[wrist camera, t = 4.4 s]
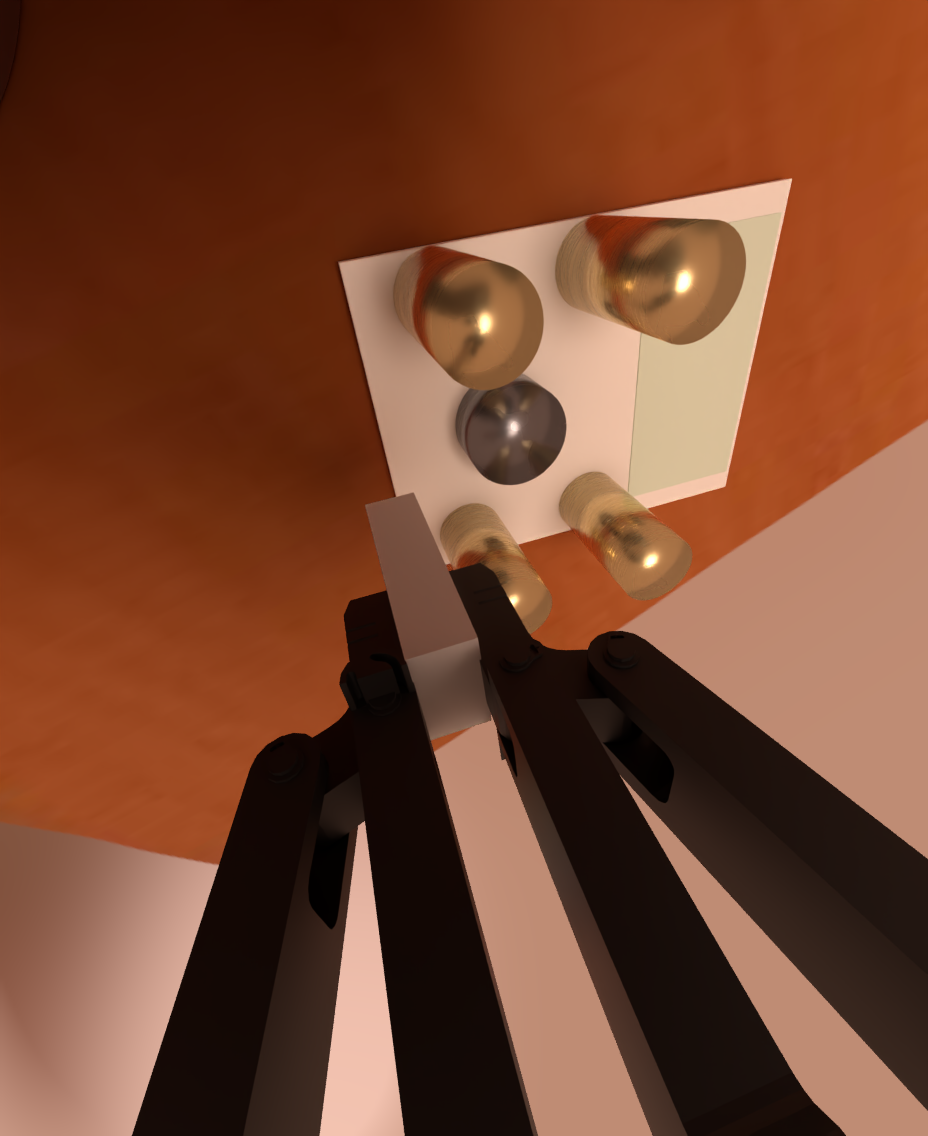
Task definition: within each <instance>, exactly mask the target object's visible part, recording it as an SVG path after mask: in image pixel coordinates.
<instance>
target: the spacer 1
mask: <svg viewBox="0 0 928 1136" xmlns="http://www.w3.org/2000/svg"><path fill="white" fill-rule="evenodd" d="M393 300H394V306H395V310H396V313H397V316H398V318H399V320H400V322H401V323H402V325H403V326H404V327H405V329H406V330H407V331H408V332H409V333H410V334H411V335H412V336H413V337H414V338H415V339H416V340H417V342H418V343H419V344H420V345H421V346H422V347H423V348H424V349H425V350H426V351H427V352H428V353H429V354H430V355H431V356H432V358H433V359H434V360H435V361H436V362H437V363H438V364H439V365H440V366H441V367H442V368H443V369H444V370H445V371H446V373H447V374H448V375H449V376H450V377H451V378H453V379H454V380H455V381H456V382H458V383H460V384H461V385H463V386H466V387H468V388H471V389H476V390H491V389H496V388H499V387H502V386H505V385H507V384H509V383H510V382H512V381H514V380H515V379H516V378H518V377H519V376H520V375H521V374H522V373H523V372H524V371H525V370H526V369H527V367H528V366H529V365H530V364H531V362H532V360H533V359H534V357H535V355H536V353H537V351H538V348H539V346H540V343H541V339H542V335H543V327H544V316H543V308H542V303H541V300H540V297H539V295H538V293H537V291H536V288H535V287H534V285H533V284H532V282H531V281H530V280H529V279H528V278H527V277H526V276H525V275H524V274H523V273H522V272H520V271H519V270H517V269H516V268H514V267H512V266H509V265H507V264H503V263H500V262H496V261H492V260H489V259H485V258H482V257H478V256H475V255H471V254H468V253H464V252H460V251H457V250H453V249H450V248H446V247H442V246H428V247H424V248H421V249H419V250H417V251H416V252H414V253H412V254H411V255H410V256H409V257H408V258H407V259H406V260H405V261H404V262H403V264H402V265H401V267H400V269H399V271H398V273H397V276H396V278H395V283H394V289H393Z"/></svg>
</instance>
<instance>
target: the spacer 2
mask: <svg viewBox="0 0 928 1136" xmlns="http://www.w3.org/2000/svg"><path fill="white" fill-rule="evenodd" d="M440 541H441V544H442V546H443V548H444V551H445V553H446V555H447V557H448V560H449V562H450V564H451V566H452V568H453V570H456V569H459V568H463V567H467V566H470V565H474V564H477V563H482V564H483V565H485V566H486V567H488V568H489V569H491V570H492V571H494V573H495V575H496V576H497V578H498V580H499V582H500V583H501V586H502V587H503V589H504V590H505V592H506V594H507V597H509V599H510V601H511V603H512V605H513V606H514V608H515V610H516V612H517V613H518V615H519V617H520V619H521V620H522V622H523V624H524V626H525V628H526V629H527V631H528V633H529V634H531V633H533V632H534V631H535V630H537V629H538V628H539V627H540V626H541V625H542V624H543V623H544V622H545V620H546V619H547V617H548V615H549V613H550V611H551V607H552V597H551V594H550V592H549V590H548V589H547V587H546V586H545V584H544V583H543V581H542V580H541V578H540V577H539V575H538V574H537V572H536V571H535V569H534V568H533V566H532V565H531V563H530V562H529V561H528V559H527V558H526V556H525V555H524V553H523V552H522V550H521V549H520V547H519V546H518V544H517V543H516V541H515V540H514V538H513V537H512V535H511V534H510V532H509V531H508V529H507V528H506V526H505V525H504V523H503V522H502V520H501V519H500V517H499V516H498V514H497V513H496V512H495V511H494V510H493V509H492V508H491V507H489V506H487V505H484V504H479V503H473V504H467V505H464V506H461V507H459V508H457V509H455V510H454V511H453V512H451V513H450V514H449V515H448V516H447V518H446V519H445V520H444V522H443V524H442V526H441V530H440Z"/></svg>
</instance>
